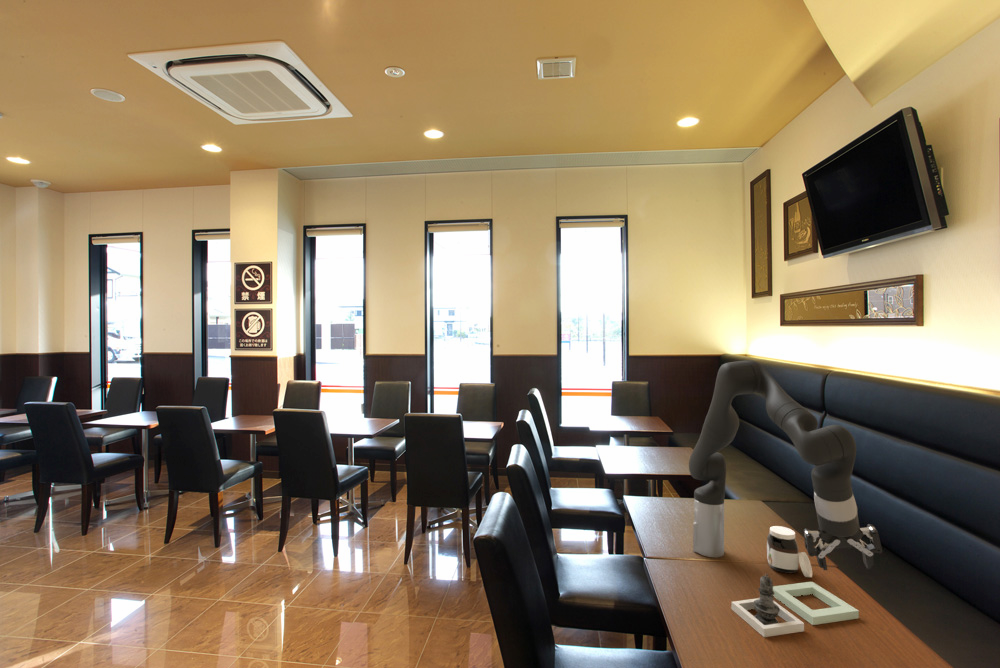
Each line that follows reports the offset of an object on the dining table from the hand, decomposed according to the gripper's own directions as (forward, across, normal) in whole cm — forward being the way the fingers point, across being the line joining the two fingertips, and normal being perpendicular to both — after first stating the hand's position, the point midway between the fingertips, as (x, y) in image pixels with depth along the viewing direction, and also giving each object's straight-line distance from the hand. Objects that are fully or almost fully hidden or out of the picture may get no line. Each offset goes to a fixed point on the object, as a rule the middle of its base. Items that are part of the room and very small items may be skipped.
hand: (845, 566), depth 106 cm
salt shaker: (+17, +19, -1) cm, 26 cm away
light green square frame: (+24, +6, -11) cm, 27 cm away
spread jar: (+30, +8, -29) cm, 42 cm away
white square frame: (+17, +19, -1) cm, 26 cm away
